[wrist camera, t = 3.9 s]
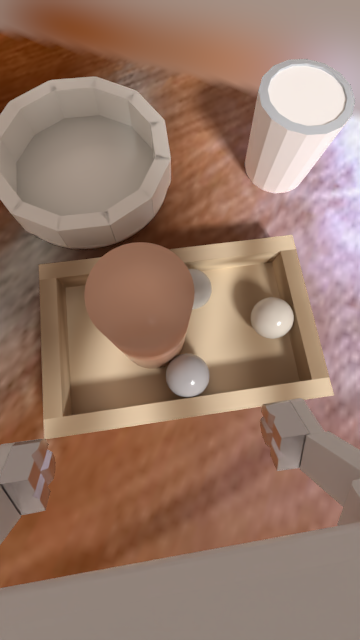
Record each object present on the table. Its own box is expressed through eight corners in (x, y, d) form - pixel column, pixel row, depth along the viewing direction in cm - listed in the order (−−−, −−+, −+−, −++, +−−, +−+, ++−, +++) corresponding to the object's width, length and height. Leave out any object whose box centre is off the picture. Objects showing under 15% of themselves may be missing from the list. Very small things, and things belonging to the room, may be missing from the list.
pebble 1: (158, 357, 22) (196, 354, 23) (162, 400, 21) (201, 395, 22) (171, 351, 19) (213, 348, 20) (176, 400, 19) (219, 394, 20)
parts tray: (279, 252, 26) (292, 234, 23) (314, 395, 23) (333, 395, 20) (53, 279, 25) (38, 264, 22) (59, 434, 22) (44, 439, 19)
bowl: (158, 105, 30) (156, 71, 26) (179, 239, 26) (180, 217, 23) (5, 119, 29) (-15, 85, 26) (6, 258, 25) (-17, 239, 22)
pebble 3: (279, 302, 24) (295, 288, 21) (288, 339, 23) (305, 330, 20) (242, 306, 24) (252, 294, 21) (250, 344, 23) (261, 336, 20)
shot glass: (256, 125, 29) (282, 43, 22) (322, 155, 29) (369, 80, 22) (225, 178, 28) (242, 107, 21) (294, 211, 27) (335, 149, 20)
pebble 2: (162, 268, 22) (179, 273, 24) (165, 310, 22) (181, 310, 24) (202, 263, 20) (215, 269, 23) (205, 308, 20) (217, 308, 23)
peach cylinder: (179, 302, 24) (186, 236, 14) (189, 363, 23) (202, 337, 13) (118, 310, 23) (81, 248, 14) (124, 373, 22) (88, 353, 13)
